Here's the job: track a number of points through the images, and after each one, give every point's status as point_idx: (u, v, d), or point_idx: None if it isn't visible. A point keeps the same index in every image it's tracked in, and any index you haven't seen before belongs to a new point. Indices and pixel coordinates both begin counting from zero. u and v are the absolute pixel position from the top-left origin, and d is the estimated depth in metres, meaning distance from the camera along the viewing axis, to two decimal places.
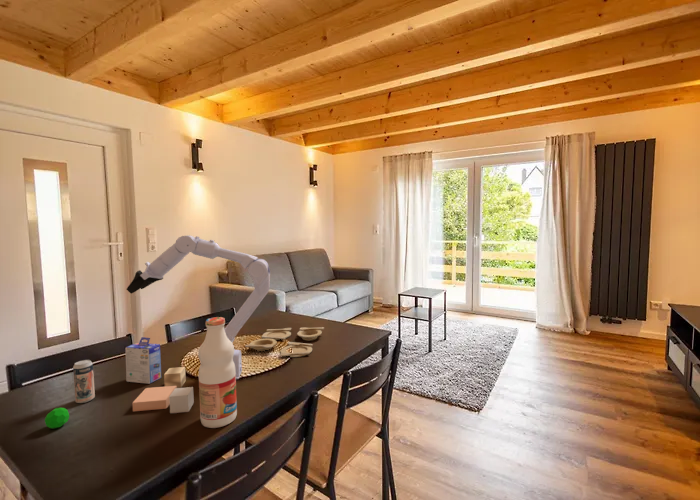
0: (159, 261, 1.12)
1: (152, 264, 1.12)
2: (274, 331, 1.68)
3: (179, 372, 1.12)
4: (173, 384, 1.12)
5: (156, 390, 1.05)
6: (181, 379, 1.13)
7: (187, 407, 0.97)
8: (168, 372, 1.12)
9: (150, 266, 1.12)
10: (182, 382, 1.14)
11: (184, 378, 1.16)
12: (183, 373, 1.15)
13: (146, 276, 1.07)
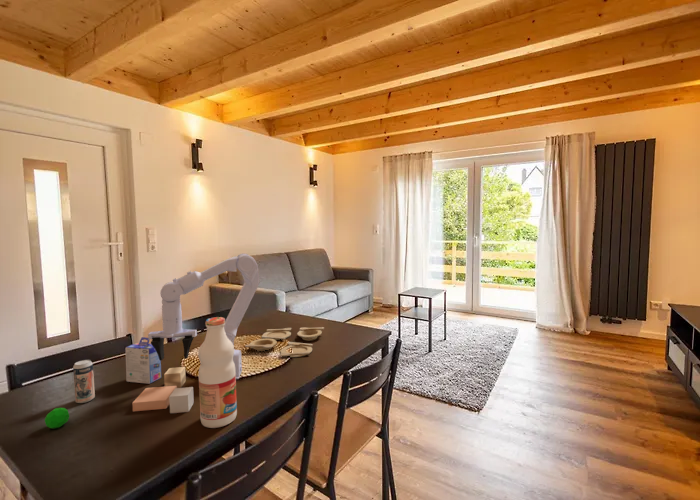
0: (179, 320, 1.12)
1: (177, 328, 1.11)
2: (274, 331, 1.68)
3: (179, 372, 1.12)
4: (173, 384, 1.12)
5: (156, 390, 1.05)
6: (181, 379, 1.13)
7: (187, 407, 0.97)
8: (168, 372, 1.12)
9: (177, 331, 1.11)
10: (182, 382, 1.14)
11: (184, 378, 1.16)
12: (183, 373, 1.15)
13: (196, 331, 1.15)
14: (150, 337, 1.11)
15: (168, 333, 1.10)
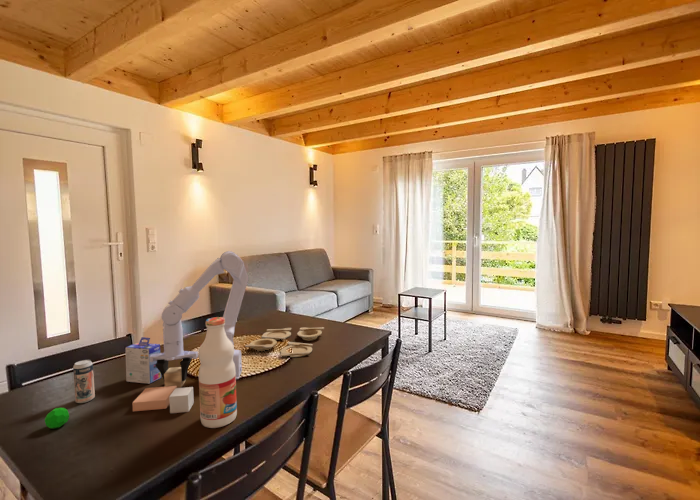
0: (180, 343, 1.12)
1: (178, 351, 1.12)
2: (274, 331, 1.68)
3: (179, 372, 1.12)
4: (173, 384, 1.12)
5: (156, 390, 1.05)
6: (181, 378, 1.13)
7: (187, 407, 0.97)
8: (168, 372, 1.12)
9: (178, 354, 1.12)
10: (182, 382, 1.14)
11: None
12: None
13: (197, 353, 1.15)
14: (151, 360, 1.11)
15: (169, 356, 1.11)
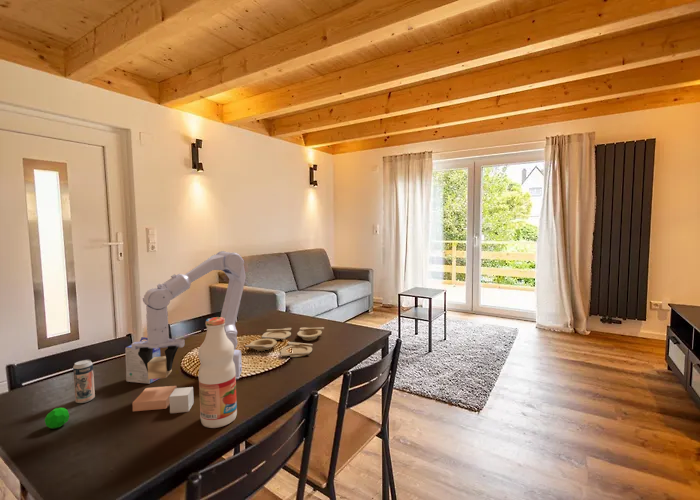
0: (165, 330, 1.04)
1: (163, 338, 1.03)
2: (274, 331, 1.68)
3: (164, 361, 1.04)
4: (157, 374, 1.03)
5: (156, 389, 1.05)
6: (166, 368, 1.05)
7: (187, 407, 0.97)
8: (152, 361, 1.04)
9: (163, 341, 1.03)
10: (167, 372, 1.05)
11: None
12: None
13: (184, 341, 1.06)
14: (134, 348, 1.03)
15: (153, 343, 1.02)
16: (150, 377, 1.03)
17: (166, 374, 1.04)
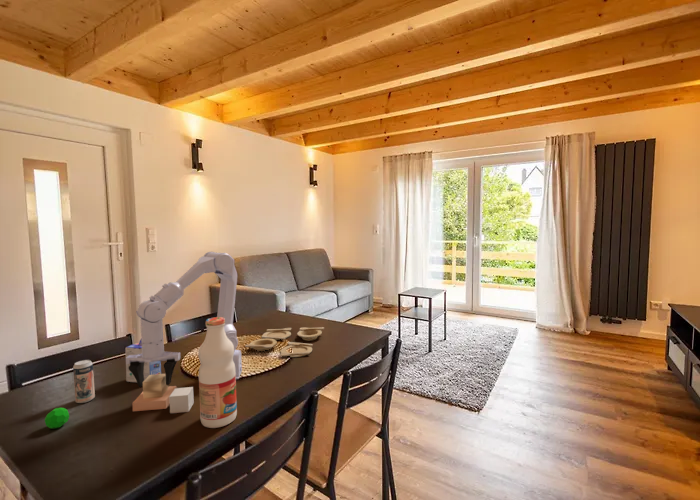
0: (160, 343, 1.01)
1: (158, 352, 1.00)
2: (274, 331, 1.68)
3: (159, 379, 1.01)
4: (153, 393, 1.00)
5: None
6: (162, 387, 1.02)
7: (187, 407, 0.97)
8: (147, 380, 1.01)
9: (158, 355, 1.00)
10: (163, 391, 1.02)
11: (166, 386, 1.05)
12: (165, 380, 1.04)
13: (179, 354, 1.04)
14: (128, 362, 1.00)
15: (148, 357, 0.99)
16: (145, 396, 1.00)
17: (162, 393, 1.01)
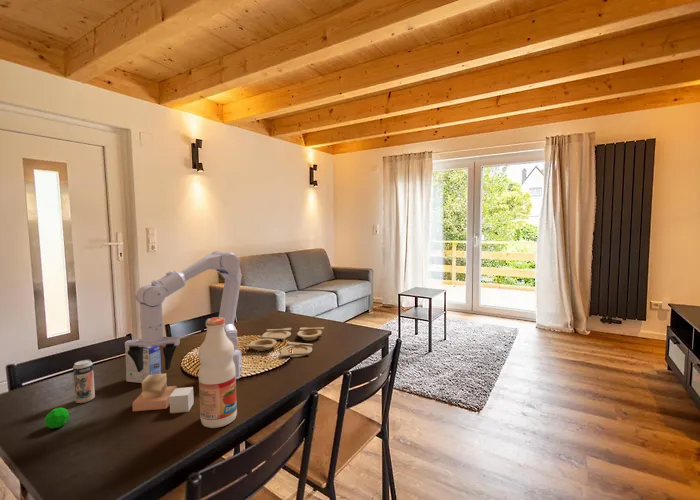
0: (159, 327, 1.01)
1: (157, 336, 1.00)
2: (274, 331, 1.68)
3: (158, 379, 1.01)
4: (152, 393, 1.00)
5: None
6: (161, 387, 1.02)
7: (187, 407, 0.97)
8: (146, 380, 1.01)
9: (157, 339, 1.00)
10: (162, 391, 1.02)
11: (165, 386, 1.05)
12: (164, 380, 1.04)
13: (179, 339, 1.03)
14: (127, 346, 1.00)
15: (147, 342, 0.99)
16: (144, 396, 1.00)
17: (161, 393, 1.02)
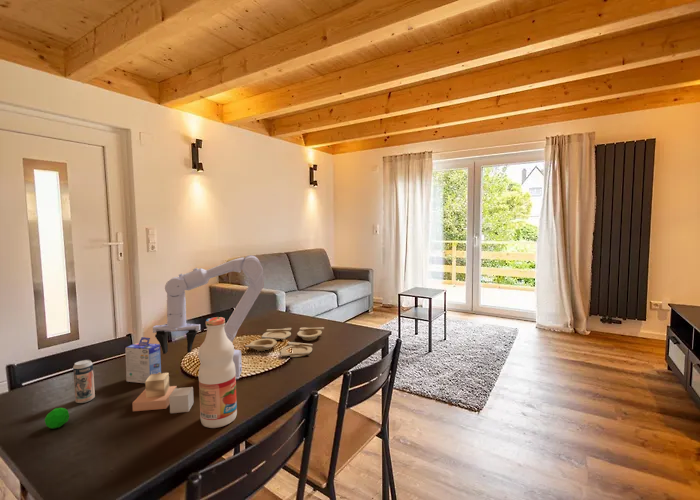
0: (183, 315, 1.14)
1: (181, 323, 1.13)
2: (274, 331, 1.68)
3: (162, 378, 1.02)
4: (156, 392, 1.01)
5: None
6: (165, 386, 1.03)
7: (187, 407, 0.97)
8: (150, 379, 1.01)
9: (181, 325, 1.13)
10: (166, 389, 1.03)
11: (168, 385, 1.05)
12: (167, 379, 1.04)
13: None
14: (154, 330, 1.13)
15: (172, 327, 1.12)
16: (148, 395, 1.01)
17: (165, 392, 1.02)
